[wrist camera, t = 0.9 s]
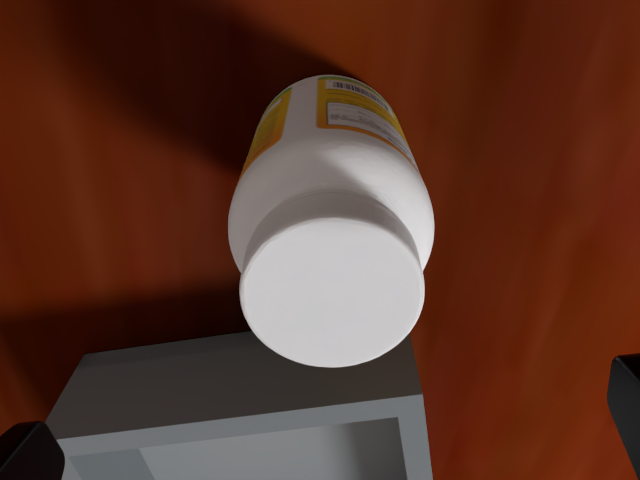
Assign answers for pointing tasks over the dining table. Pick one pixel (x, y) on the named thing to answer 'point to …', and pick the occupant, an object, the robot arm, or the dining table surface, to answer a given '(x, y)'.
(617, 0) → the dining table surface
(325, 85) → the supplement bottle
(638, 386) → the robot arm
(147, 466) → the tote
